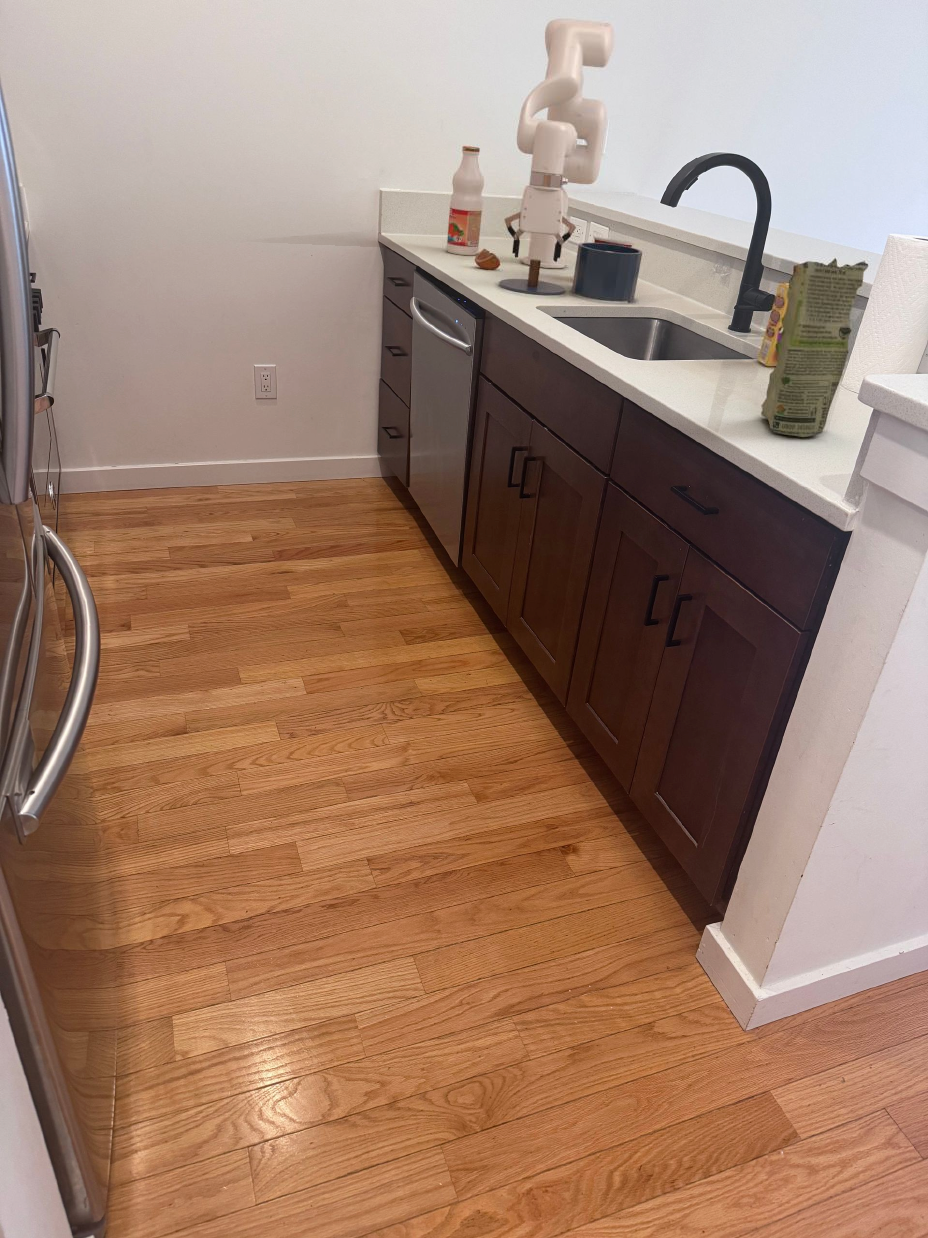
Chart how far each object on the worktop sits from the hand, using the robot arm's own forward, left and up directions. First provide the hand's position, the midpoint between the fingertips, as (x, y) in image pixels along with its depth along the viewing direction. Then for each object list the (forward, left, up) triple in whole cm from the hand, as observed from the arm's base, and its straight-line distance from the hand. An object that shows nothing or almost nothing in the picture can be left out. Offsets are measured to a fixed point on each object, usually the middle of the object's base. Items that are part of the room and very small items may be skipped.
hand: (535, 258), depth 215 cm
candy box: (+54, +47, -8) cm, 72 cm away
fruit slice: (-23, -11, -8) cm, 27 cm away
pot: (-1, +18, -8) cm, 20 cm away
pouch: (+96, +35, -8) cm, 102 cm away
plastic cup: (-17, +21, -8) cm, 28 cm away
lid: (0, 0, -7) cm, 7 cm away
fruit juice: (-50, -18, -8) cm, 54 cm away
